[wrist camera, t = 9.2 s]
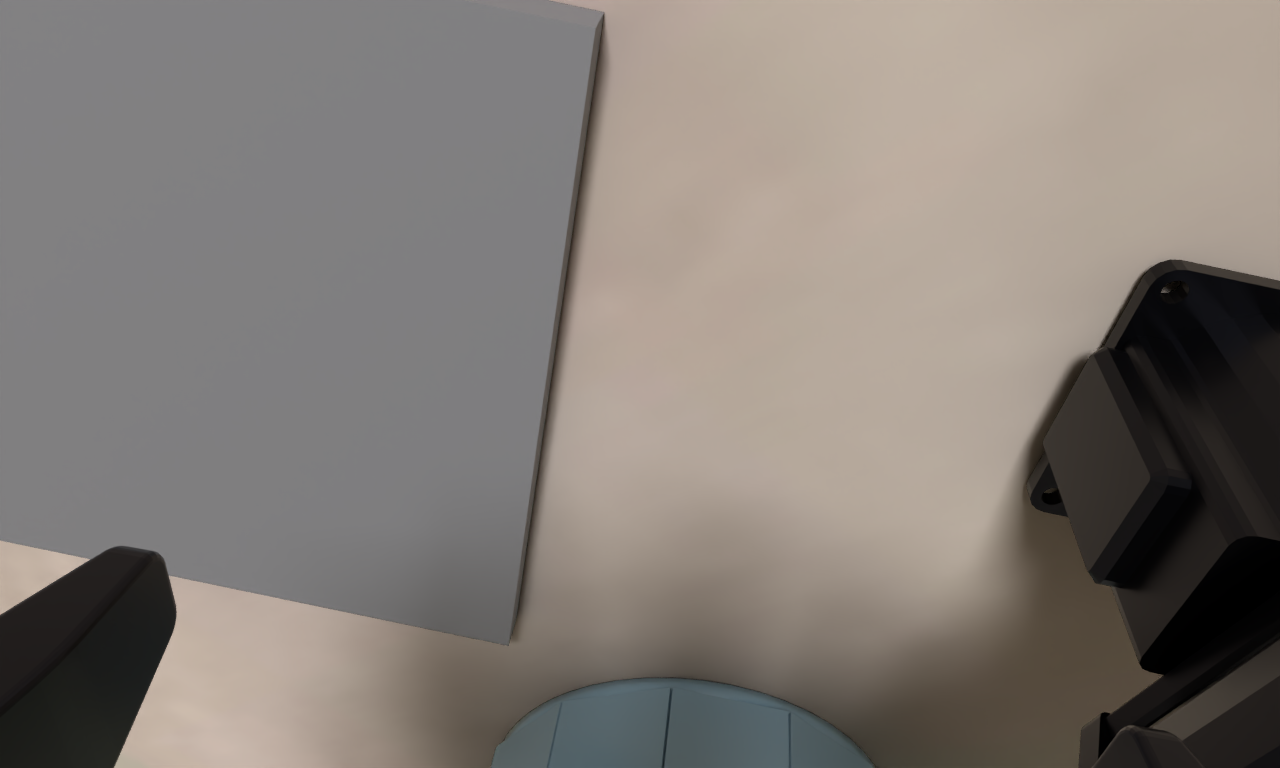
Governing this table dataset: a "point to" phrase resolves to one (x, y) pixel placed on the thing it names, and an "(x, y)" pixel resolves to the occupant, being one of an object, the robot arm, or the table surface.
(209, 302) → the mat
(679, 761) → the ring
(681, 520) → the table surface
